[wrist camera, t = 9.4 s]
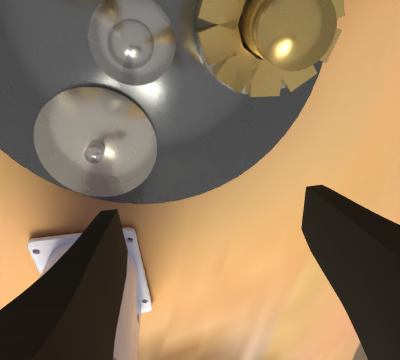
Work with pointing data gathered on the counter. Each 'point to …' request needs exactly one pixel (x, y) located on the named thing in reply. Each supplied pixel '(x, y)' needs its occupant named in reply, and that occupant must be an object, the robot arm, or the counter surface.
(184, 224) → the counter surface
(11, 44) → the carrier
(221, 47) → the planet gear
